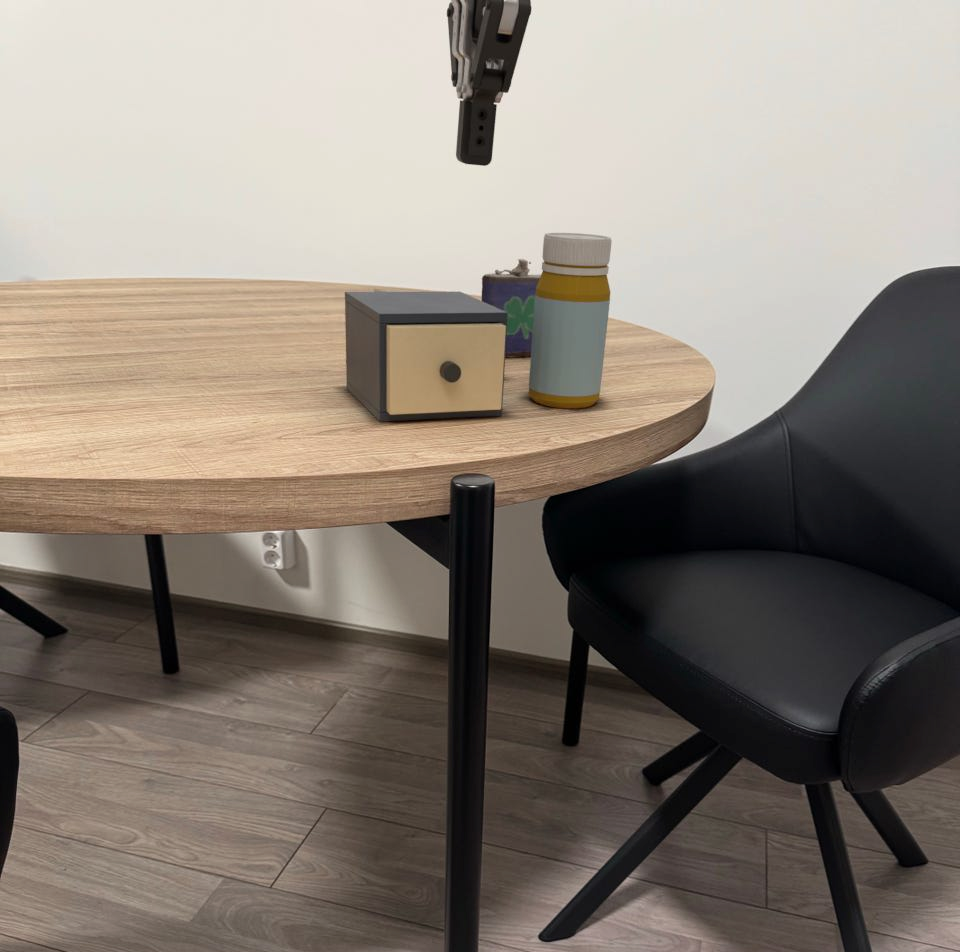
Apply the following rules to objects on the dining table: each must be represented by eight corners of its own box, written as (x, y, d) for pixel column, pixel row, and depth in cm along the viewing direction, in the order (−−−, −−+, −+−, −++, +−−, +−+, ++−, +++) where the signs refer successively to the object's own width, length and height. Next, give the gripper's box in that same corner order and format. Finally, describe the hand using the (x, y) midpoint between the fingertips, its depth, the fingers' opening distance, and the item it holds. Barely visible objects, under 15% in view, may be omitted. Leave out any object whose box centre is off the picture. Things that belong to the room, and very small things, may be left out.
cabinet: (502, 415, 86) (508, 312, 82) (379, 422, 83) (379, 313, 78) (457, 384, 97) (460, 291, 93) (346, 388, 93) (344, 291, 89)
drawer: (506, 413, 84) (511, 328, 80) (393, 418, 80) (394, 330, 77) (459, 381, 94) (462, 304, 91) (358, 384, 91) (356, 305, 87)
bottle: (513, 399, 92) (524, 233, 85) (557, 389, 97) (571, 231, 90) (569, 413, 88) (585, 241, 81) (612, 402, 93) (631, 238, 86)
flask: (546, 351, 115) (553, 257, 110) (556, 356, 112) (564, 260, 107) (475, 353, 112) (479, 256, 107) (484, 358, 109) (489, 260, 104)
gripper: (418, -150, 61) (403, 151, 69) (463, -198, 50) (439, 168, 58) (529, -131, 62) (501, 160, 71) (596, -172, 51) (553, 178, 60)
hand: (473, 163), depth 65 cm, fingers closed
